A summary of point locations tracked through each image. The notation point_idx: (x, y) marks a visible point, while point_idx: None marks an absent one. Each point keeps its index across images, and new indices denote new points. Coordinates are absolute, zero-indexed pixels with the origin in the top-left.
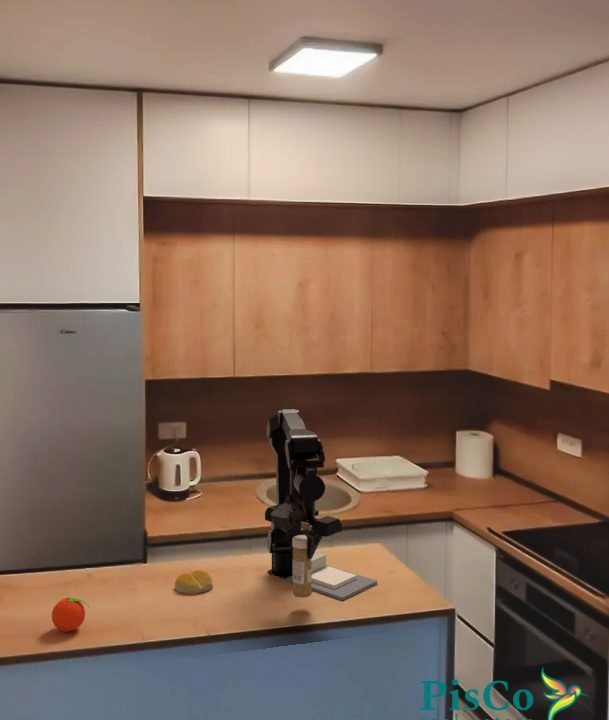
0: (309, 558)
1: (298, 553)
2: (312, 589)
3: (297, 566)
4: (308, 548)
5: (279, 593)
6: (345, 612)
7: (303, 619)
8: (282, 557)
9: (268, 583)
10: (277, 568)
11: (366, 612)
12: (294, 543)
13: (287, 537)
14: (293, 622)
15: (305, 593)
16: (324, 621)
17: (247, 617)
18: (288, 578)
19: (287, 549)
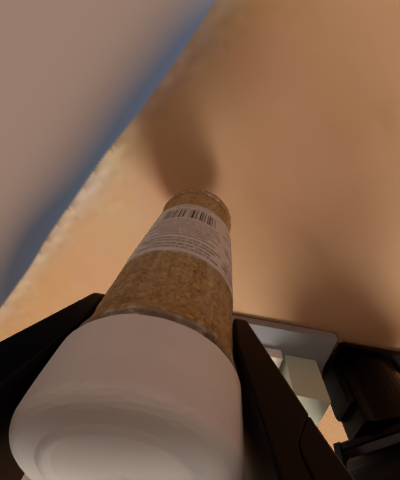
0: (91, 295)
1: (140, 285)
2: (241, 318)
3: (171, 236)
4: (30, 342)
5: (316, 265)
6: (97, 247)
7: (157, 146)
8: (384, 403)
9: (377, 305)
10: (382, 368)
11: (61, 270)
12: (161, 357)
13: (323, 452)
14: (170, 107)
15: (166, 207)
16: (102, 169)
17: (335, 39)
18: (329, 341)
19: (384, 438)
